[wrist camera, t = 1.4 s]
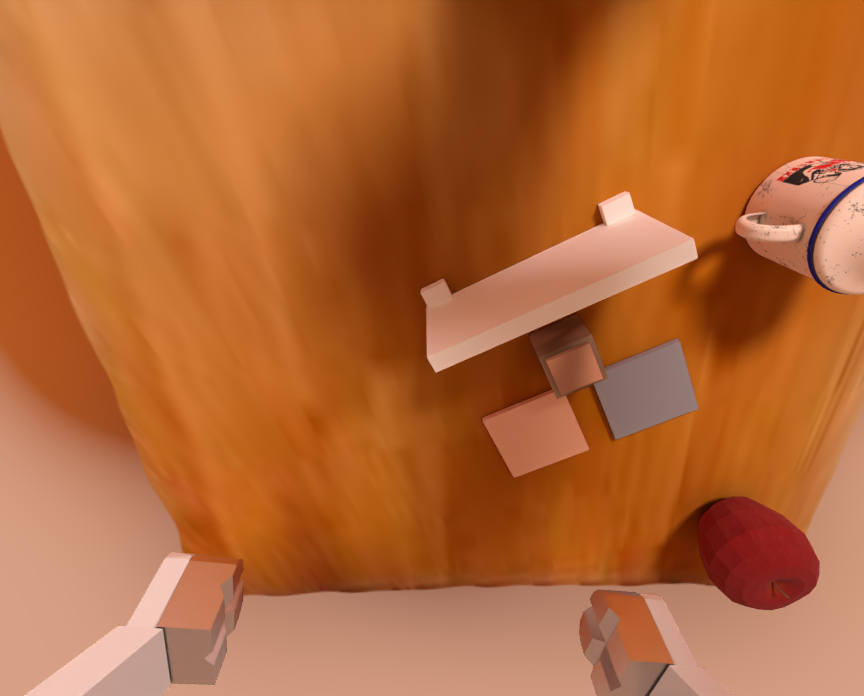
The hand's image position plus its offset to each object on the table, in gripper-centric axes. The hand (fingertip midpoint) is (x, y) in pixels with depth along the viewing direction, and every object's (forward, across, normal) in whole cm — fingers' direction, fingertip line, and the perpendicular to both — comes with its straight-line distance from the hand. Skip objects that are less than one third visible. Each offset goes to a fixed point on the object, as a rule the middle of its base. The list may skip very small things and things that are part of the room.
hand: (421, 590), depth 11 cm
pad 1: (+34, -16, +19) cm, 42 cm away
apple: (+34, -42, +27) cm, 60 cm away
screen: (+34, -10, +1) cm, 35 cm away
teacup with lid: (+34, -30, -7) cm, 46 cm away
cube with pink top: (+34, -16, +8) cm, 38 cm away
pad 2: (+34, -26, +12) cm, 44 cm away
